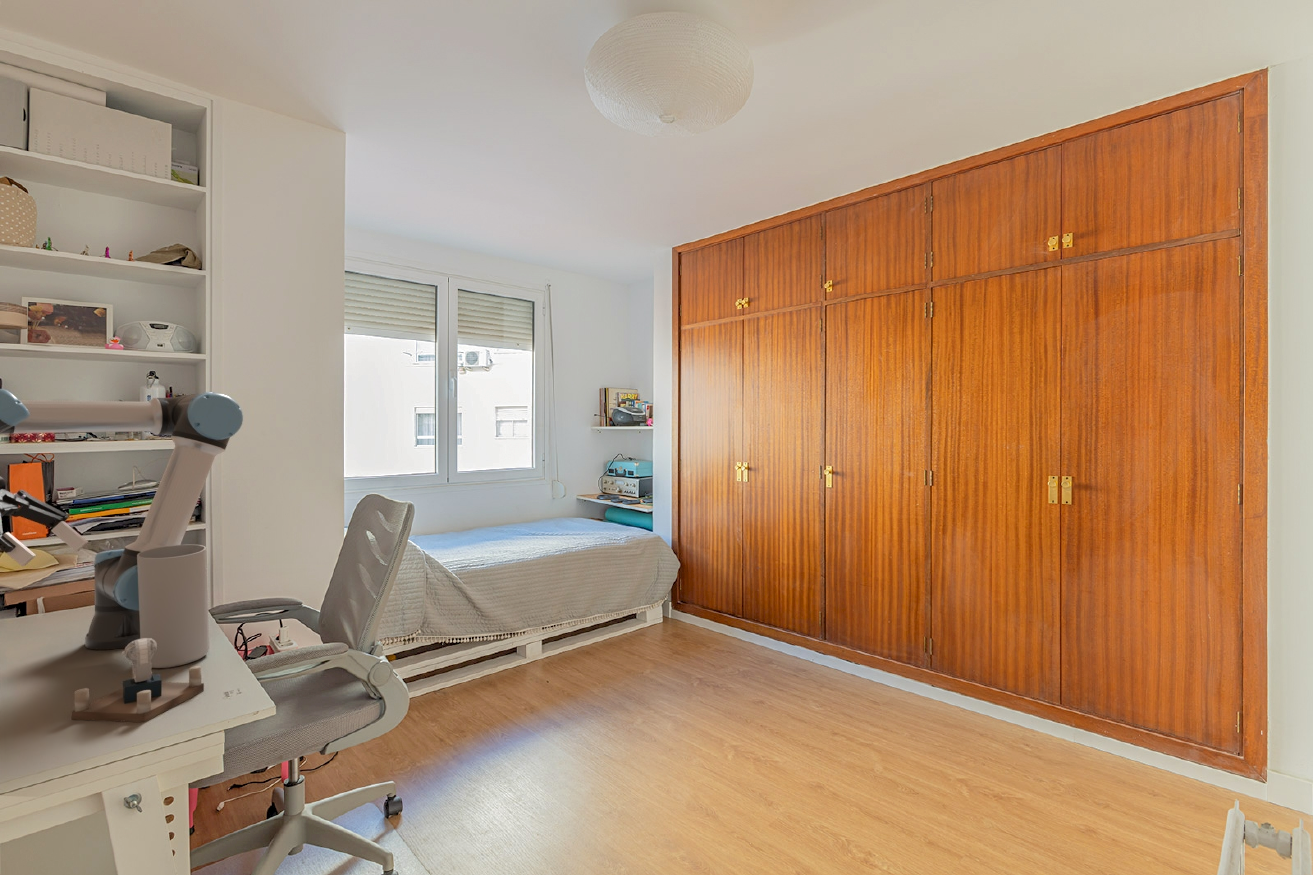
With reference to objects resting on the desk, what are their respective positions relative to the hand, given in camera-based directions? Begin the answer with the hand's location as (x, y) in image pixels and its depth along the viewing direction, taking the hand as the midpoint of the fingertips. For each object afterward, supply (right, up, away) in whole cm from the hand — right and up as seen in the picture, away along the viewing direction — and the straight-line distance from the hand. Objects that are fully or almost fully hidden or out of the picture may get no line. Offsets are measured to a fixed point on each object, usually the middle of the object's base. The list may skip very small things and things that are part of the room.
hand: (57, 553), depth 128 cm
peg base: (+21, -28, -6) cm, 36 cm away
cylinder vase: (+10, -28, +18) cm, 35 cm away
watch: (+22, -27, -6) cm, 35 cm away
